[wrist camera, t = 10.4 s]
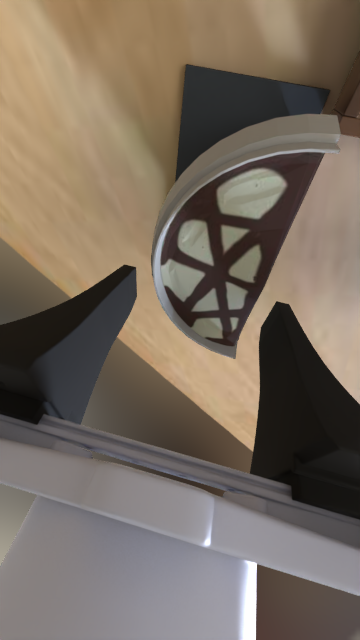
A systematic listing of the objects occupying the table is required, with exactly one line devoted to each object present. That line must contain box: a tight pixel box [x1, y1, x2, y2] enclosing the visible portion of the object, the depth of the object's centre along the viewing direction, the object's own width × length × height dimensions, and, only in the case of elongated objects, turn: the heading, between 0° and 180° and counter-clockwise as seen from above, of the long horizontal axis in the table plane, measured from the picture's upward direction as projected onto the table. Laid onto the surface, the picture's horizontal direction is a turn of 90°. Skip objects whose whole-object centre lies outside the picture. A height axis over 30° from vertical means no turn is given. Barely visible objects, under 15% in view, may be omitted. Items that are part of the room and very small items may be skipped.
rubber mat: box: [175, 65, 330, 183], centre depth 18 cm, size 8×13×1 cm, turn 174°
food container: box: [151, 114, 341, 359], centre depth 15 cm, size 12×6×10 cm, turn 174°
